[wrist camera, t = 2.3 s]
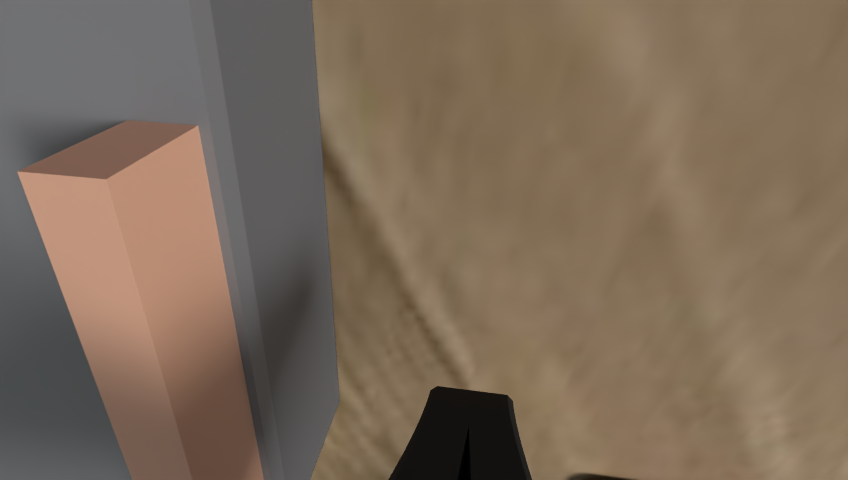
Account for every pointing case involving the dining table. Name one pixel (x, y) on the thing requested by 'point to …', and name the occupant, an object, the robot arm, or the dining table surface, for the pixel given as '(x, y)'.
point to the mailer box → (283, 210)
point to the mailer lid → (124, 252)
